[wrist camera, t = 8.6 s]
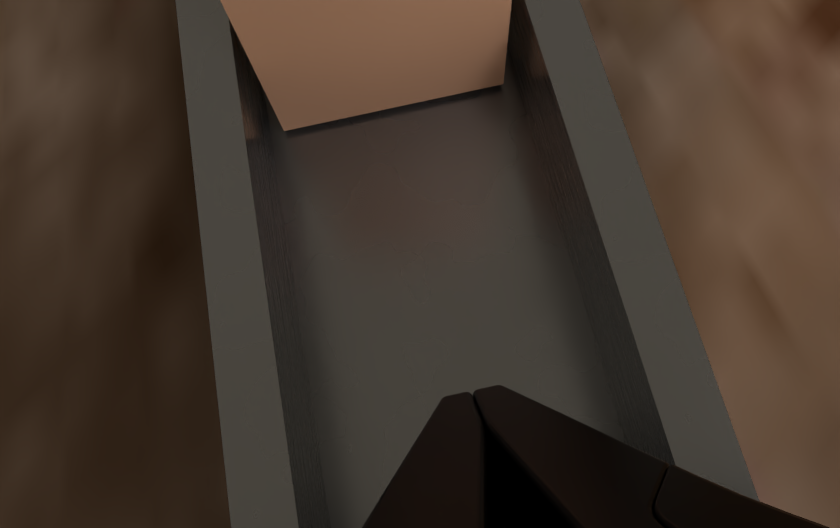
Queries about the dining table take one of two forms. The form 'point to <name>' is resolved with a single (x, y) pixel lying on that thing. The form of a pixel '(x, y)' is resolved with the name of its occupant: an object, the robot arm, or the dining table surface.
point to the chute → (433, 272)
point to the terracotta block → (368, 52)
